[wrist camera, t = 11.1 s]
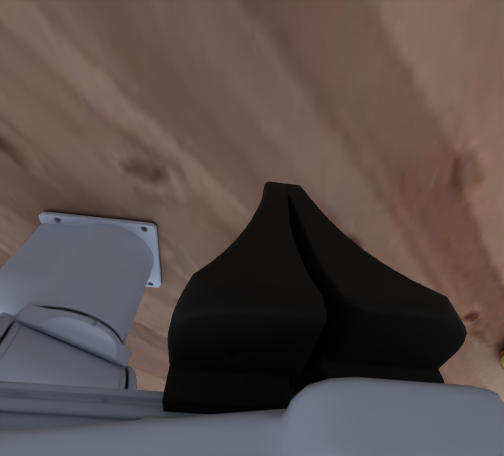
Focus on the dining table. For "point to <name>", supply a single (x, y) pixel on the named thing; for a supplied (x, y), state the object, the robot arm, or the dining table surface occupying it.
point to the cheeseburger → (502, 358)
